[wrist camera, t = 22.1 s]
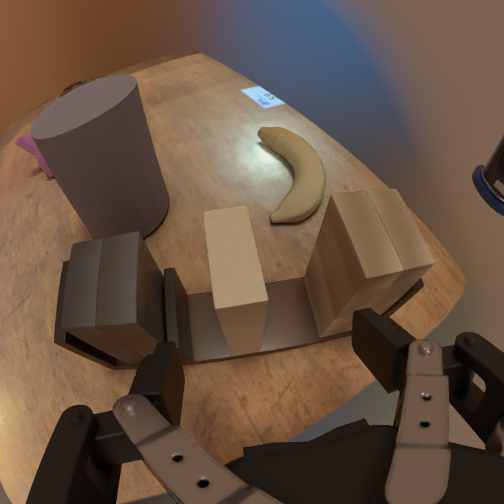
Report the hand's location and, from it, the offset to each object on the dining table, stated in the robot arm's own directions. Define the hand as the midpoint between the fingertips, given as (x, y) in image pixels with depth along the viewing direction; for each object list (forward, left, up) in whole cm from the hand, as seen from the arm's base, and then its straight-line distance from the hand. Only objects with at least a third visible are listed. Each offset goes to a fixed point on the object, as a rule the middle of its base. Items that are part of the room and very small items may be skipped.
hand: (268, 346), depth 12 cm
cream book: (+1, -5, -10) cm, 11 cm away
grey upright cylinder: (+12, -20, -12) cm, 26 cm away
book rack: (+1, -5, -11) cm, 12 cm away
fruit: (-7, -22, -12) cm, 26 cm away
